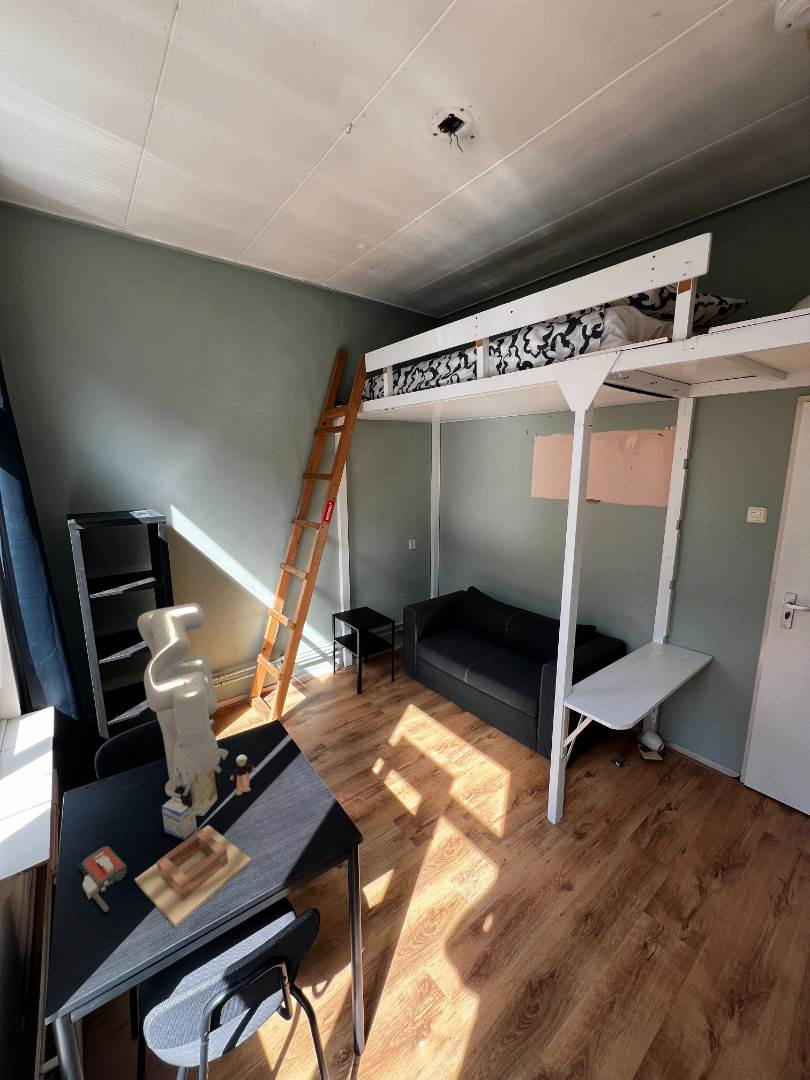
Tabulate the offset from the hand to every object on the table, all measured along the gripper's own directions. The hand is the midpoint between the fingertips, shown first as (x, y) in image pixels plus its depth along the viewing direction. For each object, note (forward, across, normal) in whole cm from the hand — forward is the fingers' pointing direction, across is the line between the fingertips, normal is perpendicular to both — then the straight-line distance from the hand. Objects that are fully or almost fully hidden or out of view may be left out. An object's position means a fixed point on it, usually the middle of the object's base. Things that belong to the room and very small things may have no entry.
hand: (202, 794), depth 113 cm
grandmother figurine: (+20, -21, -14) cm, 32 cm away
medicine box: (+20, -1, -16) cm, 26 cm away
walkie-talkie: (+20, +18, -18) cm, 32 cm away
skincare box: (+4, 0, 0) cm, 4 cm away
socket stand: (+20, +4, 0) cm, 20 cm away
